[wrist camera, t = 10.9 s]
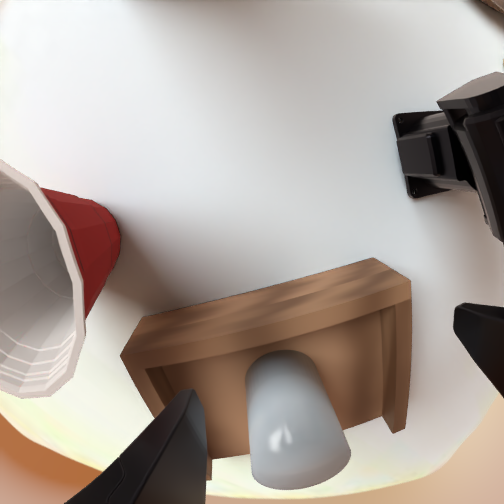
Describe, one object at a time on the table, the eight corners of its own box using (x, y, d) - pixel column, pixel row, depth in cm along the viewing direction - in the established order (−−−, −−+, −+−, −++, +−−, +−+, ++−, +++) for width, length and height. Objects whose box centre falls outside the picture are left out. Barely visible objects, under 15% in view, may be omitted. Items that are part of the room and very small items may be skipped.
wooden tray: (373, 257, 22) (410, 280, 16) (381, 392, 25) (404, 428, 20) (142, 317, 22) (119, 355, 16) (201, 438, 25) (198, 481, 20)
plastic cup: (188, 226, 20) (132, 288, 9) (109, 330, 22) (39, 433, 10) (79, 134, 18) (-39, 110, 6) (18, 245, 20) (-85, 292, 8)
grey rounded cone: (311, 340, 19) (349, 424, 12) (321, 394, 21) (352, 474, 13) (236, 360, 19) (239, 451, 12) (254, 411, 21) (264, 496, 13)
